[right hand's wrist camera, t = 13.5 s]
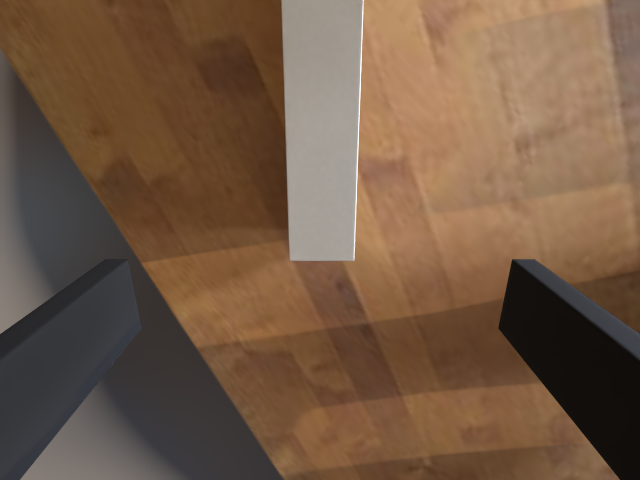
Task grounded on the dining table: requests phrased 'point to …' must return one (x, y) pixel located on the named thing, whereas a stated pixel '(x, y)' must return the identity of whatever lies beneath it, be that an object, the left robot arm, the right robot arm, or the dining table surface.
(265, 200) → the dining table surface
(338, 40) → the beam
